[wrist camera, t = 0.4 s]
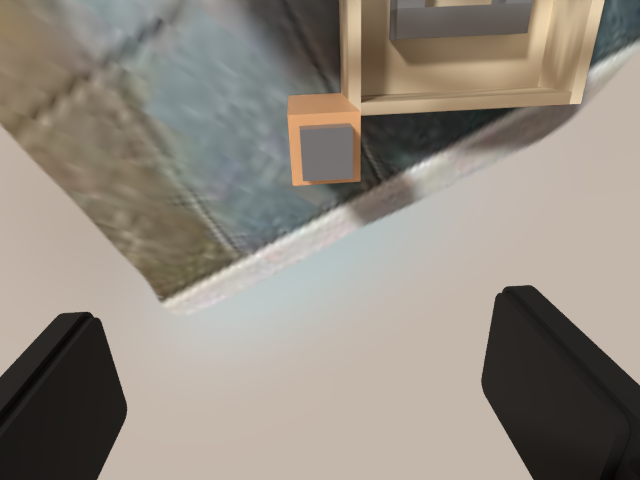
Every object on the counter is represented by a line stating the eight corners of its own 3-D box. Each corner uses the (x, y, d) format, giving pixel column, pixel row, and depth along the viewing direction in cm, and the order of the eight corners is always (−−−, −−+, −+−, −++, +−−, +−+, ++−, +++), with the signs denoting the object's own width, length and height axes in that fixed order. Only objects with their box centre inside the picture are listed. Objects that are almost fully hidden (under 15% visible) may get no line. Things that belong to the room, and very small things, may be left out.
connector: (288, 95, 31) (287, 118, 21) (340, 92, 31) (363, 114, 21) (292, 147, 32) (292, 192, 22) (341, 144, 33) (363, 187, 22)
